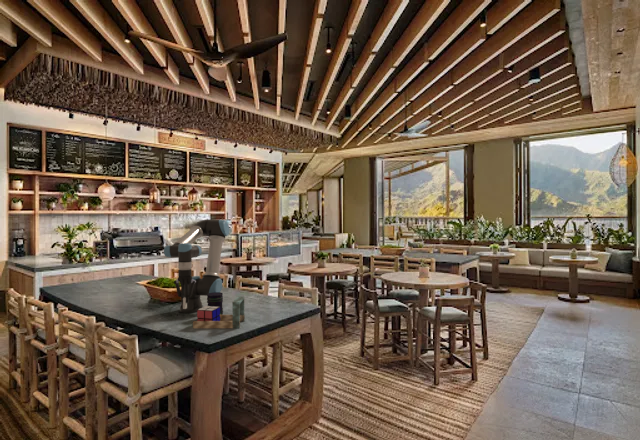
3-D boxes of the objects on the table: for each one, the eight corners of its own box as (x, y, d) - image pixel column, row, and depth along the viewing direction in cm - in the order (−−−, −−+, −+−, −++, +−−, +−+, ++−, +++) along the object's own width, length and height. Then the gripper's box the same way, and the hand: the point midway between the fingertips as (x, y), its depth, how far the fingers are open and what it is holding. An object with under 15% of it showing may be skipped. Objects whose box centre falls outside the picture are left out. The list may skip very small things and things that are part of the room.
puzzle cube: (212, 327, 223) (212, 310, 223) (196, 326, 225) (196, 309, 225) (220, 322, 233) (220, 306, 233) (205, 322, 235) (205, 305, 235)
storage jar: (217, 314, 253) (216, 291, 253) (226, 316, 247) (226, 293, 247) (204, 317, 246) (203, 294, 246) (213, 319, 240) (212, 296, 239)
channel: (193, 328, 221) (192, 302, 221) (201, 321, 236) (200, 296, 236) (239, 328, 222) (239, 302, 221) (244, 320, 237) (244, 296, 236)
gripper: (171, 269, 225) (171, 309, 225) (193, 269, 225) (193, 309, 225) (176, 268, 232) (176, 307, 232) (197, 268, 232) (197, 306, 232)
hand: (185, 308), depth 228 cm, fingers closed
